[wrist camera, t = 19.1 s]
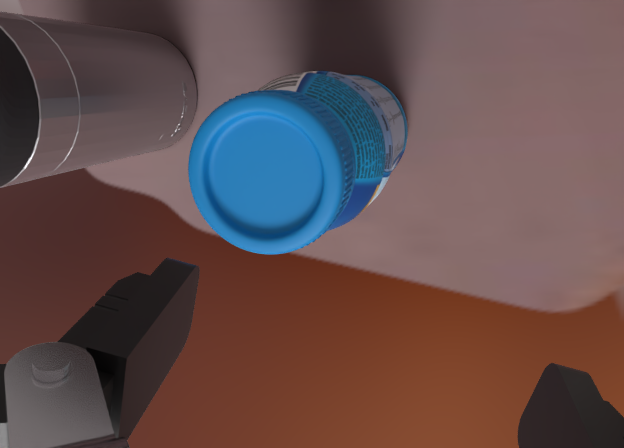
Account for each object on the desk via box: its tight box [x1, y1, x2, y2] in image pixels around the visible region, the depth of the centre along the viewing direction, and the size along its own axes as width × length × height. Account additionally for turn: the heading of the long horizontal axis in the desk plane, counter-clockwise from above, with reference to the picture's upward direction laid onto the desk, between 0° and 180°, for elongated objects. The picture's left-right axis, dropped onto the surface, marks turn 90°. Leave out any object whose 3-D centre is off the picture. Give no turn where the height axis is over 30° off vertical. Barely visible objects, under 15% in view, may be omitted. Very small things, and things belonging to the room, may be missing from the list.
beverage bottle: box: [188, 71, 408, 254], centre depth 31 cm, size 8×8×20 cm
